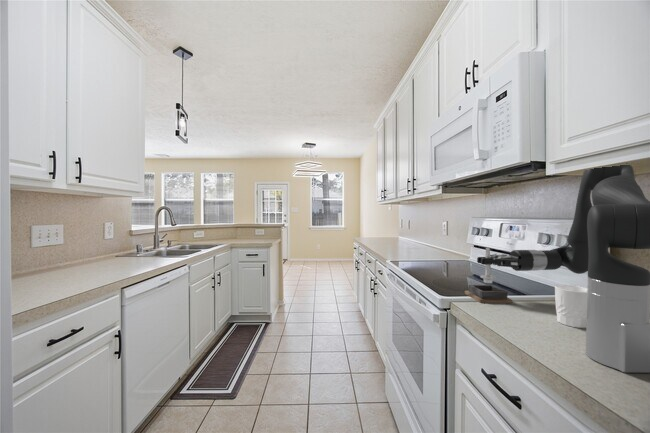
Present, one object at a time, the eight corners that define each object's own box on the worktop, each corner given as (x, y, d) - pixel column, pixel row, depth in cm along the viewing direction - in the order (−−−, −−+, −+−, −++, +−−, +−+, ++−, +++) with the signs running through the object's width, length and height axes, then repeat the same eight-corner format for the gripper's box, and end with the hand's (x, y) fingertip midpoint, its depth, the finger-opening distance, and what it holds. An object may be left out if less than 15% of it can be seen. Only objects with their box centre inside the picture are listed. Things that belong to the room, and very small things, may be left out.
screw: (480, 280, 106) (495, 281, 104) (480, 283, 102) (496, 284, 100) (479, 245, 106) (495, 246, 104) (480, 247, 101) (496, 248, 99)
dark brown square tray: (512, 302, 97) (512, 292, 97) (480, 302, 97) (480, 292, 97) (493, 293, 108) (493, 284, 108) (464, 293, 108) (464, 284, 108)
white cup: (598, 330, 75) (599, 293, 75) (564, 327, 77) (565, 291, 76) (578, 319, 83) (579, 285, 83) (548, 317, 84) (548, 283, 84)
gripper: (515, 247, 109) (470, 247, 109) (541, 252, 95) (490, 253, 96) (514, 266, 109) (470, 267, 110) (541, 274, 96) (490, 275, 96)
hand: (479, 260), depth 103 cm, fingers closed on screw, 2 cm apart
